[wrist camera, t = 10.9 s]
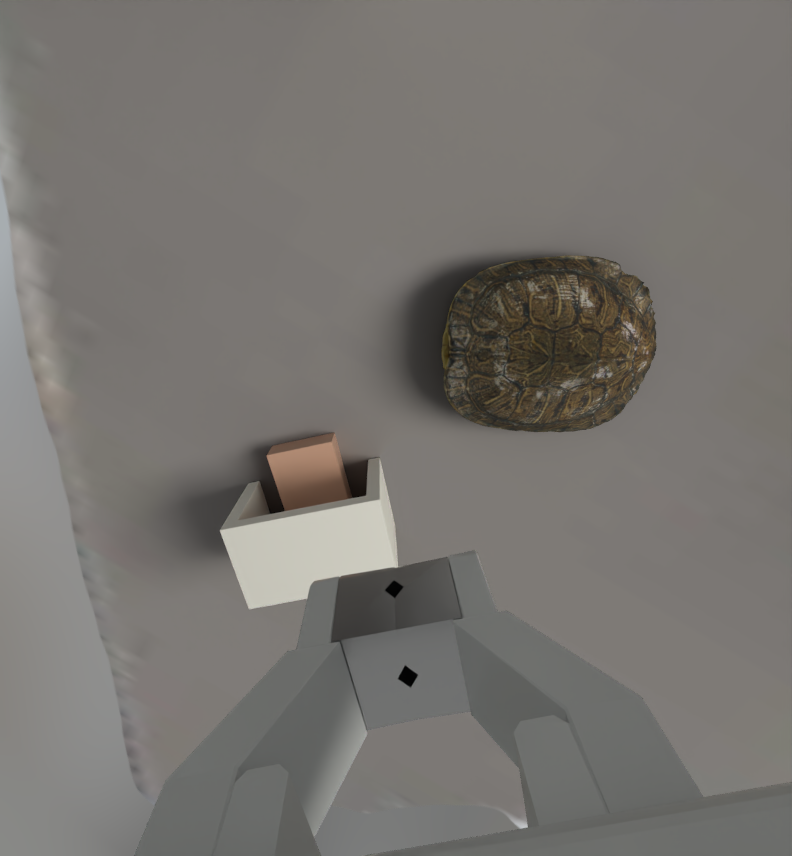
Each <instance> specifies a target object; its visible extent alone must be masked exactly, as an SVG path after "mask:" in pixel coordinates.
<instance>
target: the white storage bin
mask: <svg viewBox="0 0 792 856" xmlns="http://www.w3.org/2000/svg"><path fill="white" fill-rule="evenodd" d="M220 533H221V535H222V538H223V541H224V543H225V546H226V549H227V551H228V554H229V557H230V559H231V562H232V565H233V567H234V570H235V573H236V575H237V578H238V581H239V583H240V586H241V589H242V591H243V594H244V597H245V599H246V602H247V605H248V607H249V609H253V608H259V607H264V606H269V605H275V604H280V603H285V602H291V601H296V600H301V599H307V598H308V593H309V589H310V586H311V584H312V583H313V582H314V581H317V580H322V579H327V578H332V577H338V576H339V577H341V576H343V575H349V574H355V573H361V572H367V571H373V570H379V569H385V568H391V567H398V560H397V544H396V529H395V523H394V519H393V515H392V510H391V506H390V501H389V497H388V493H387V488H386V484H385V479H384V475H383V470H382V466H381V462H380V457H379V458H374V459H369V460H368V473H367V491H366V496H361V497H356V498H351V499H346V500H341V501H335V502H330V503H325V504H320V505H315V506H310V507H304V508H299V509H294V510H289V511H284V512H279V513H273V514H270V511H269V508H268V505H267V502H266V499H265V496H264V493H263V490H262V487H261V484H260V481H257V482H251V483H248V485H247V486H246V488H245V490H244V491H243V493H242V494H241V496H240V498H239V499H238V501H237V503H236V504H235V506H234V508H233V509H232V511H231V513H230V514H229V516H228V517H227V519H226V521H225V522H224V524H223V526H222V527H221V529H220Z"/></svg>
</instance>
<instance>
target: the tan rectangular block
mask: <svg viewBox="0 0 792 856" xmlns="http://www.w3.org/2000/svg"><path fill="white" fill-rule="evenodd" d="M266 456H267V459H268V462H269V465H270V468H271V471H272V474H273V477H274V480H275V483H276V486H277V489H278V492H279V495H280V498H281V501H282V504H283V507H284V510H285V511H289V510H294V509H299V508H304V507H310V506H315V505H320V504H325V503H330V502H335V501H341V500H346V499H351V498H352V495H351V491H350V487H349V484H348V480H347V476H346V473H345V469H344V465H343V462H342V458H341V454H340V451H339V447H338V444H337V440H336V436H335V433H330V434H325V435H320V436H316V437H311V438H306V439H302V440H297V441H292V442H288V443H283V444H278V445H274V446H272V447H271V449H270V451H269V452H268V454H267V455H266Z"/></svg>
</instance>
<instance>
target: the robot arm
mask: <svg viewBox="0 0 792 856" xmlns="http://www.w3.org/2000/svg"><path fill="white" fill-rule="evenodd" d="M465 712H471V715H472V716H473V717H474V718H475V719H476V720H477V721H478V723H479V724H480V725H481V726H482V727H483V728H484V729H485V730H486V732H487V733H488V734H489V735H490V736H491V737H492V738H493V740H494V741H495V742H496V743H497V744H498V745H499V746H500V748H501V749H502V750H503V751H504V752H505V753H506V754H507V756H508V757H509V758H510V759H511V760H512V761H513V762H514V764H515V765H516V766H517V767H518V768H519V771H520V778H521V784H522V791H523V798H524V804H525V811H526V817H527V824H528V828H523V829H517V830H511V831H506V832H500V833H494V834H488V835H482V836H476V837H470V838H464V839H459V840H453V841H447V842H441V843H435V844H429V845H423V846H417V847H412V848H406V849H401V850H394V851H389V852H383V853H376V854H370V855H365V856H792V782H789V783H783V784H777V785H771V786H766V787H760V788H754V789H748V790H742V791H736V792H730V793H725V794H719V795H713V796H707V797H703V795H702V794H701V792H700V790H699V789H698V787H697V785H696V784H695V782H694V781H693V779H692V777H691V776H690V774H689V773H688V771H687V769H686V768H685V766H684V764H683V763H682V761H681V760H680V758H679V756H678V755H677V753H676V751H675V750H674V748H673V747H672V745H671V743H670V742H669V740H668V738H667V737H666V735H665V734H664V732H663V730H662V729H661V727H660V725H659V724H658V722H657V721H656V719H655V717H654V716H653V714H652V713H651V711H650V709H649V708H648V706H647V704H646V703H645V701H644V700H643V698H642V697H641V696H640V695H638V694H636V693H635V692H633V691H632V690H630V689H629V688H627V687H625V686H624V685H622V684H621V683H619V682H618V681H616V680H615V679H613V678H611V677H610V676H608V675H607V674H605V673H604V672H602V671H601V670H599V669H597V668H596V667H594V666H593V665H591V664H590V663H588V662H586V661H585V660H583V659H582V658H580V657H579V656H577V655H576V654H574V653H572V652H571V651H569V650H568V649H566V648H565V647H563V646H561V645H560V644H558V643H557V642H555V641H554V640H552V639H551V638H549V637H547V636H546V635H544V634H543V633H541V632H540V631H538V630H537V629H535V628H533V627H532V626H530V625H529V624H527V623H526V622H524V621H522V620H521V619H519V618H518V617H516V616H515V615H513V614H512V613H510V612H508V611H501V612H498V610H497V608H496V605H495V602H494V599H493V596H492V593H491V590H490V588H489V585H488V582H487V579H486V576H485V573H484V571H483V568H482V565H481V562H480V559H479V556H478V554H477V552H476V551H475V550H472V551H468V552H464V553H459V554H455V555H450V556H448V557H444V558H439V559H434V560H429V561H424V562H420V563H415V564H410V565H405V566H400V567H391V568H385V569H379V570H373V571H367V572H361V573H355V574H349V575H343V576H341V577H339V576H338V577H332V578H327V579H322V580H317V581H314V582H313V583H312V584H311V586H310V589H309V593H308V598H307V602H306V607H305V611H304V616H303V620H302V625H301V629H300V634H299V639H298V643H297V648H296V650H291V651H287V652H286V653H285V654H284V656H283V657H282V658H281V659H280V660H279V661H278V662H277V663H276V664H275V665H274V666H273V667H272V668H271V669H270V670H269V671H268V673H267V674H266V675H265V676H264V677H263V678H262V679H261V680H260V681H259V682H258V683H257V684H256V685H255V686H254V687H253V688H252V689H251V691H250V692H249V693H248V694H247V695H246V696H245V697H244V698H243V699H242V700H241V701H240V702H239V703H238V704H237V705H236V706H235V708H234V709H233V710H232V711H231V712H230V713H229V714H228V715H227V716H226V717H225V718H224V719H223V720H222V721H221V722H220V723H219V725H218V726H217V727H216V728H215V729H214V730H213V731H212V732H211V733H210V734H209V735H208V736H207V737H206V738H205V739H204V740H203V741H202V743H201V744H200V745H199V746H198V747H197V748H196V749H195V750H194V751H193V752H192V753H191V754H190V755H189V756H188V757H187V758H186V760H185V761H184V762H183V763H182V764H181V765H180V766H179V767H178V768H177V769H176V770H175V771H174V772H173V773H172V774H171V775H170V776H169V778H168V779H167V780H166V781H165V783H164V785H163V788H162V790H161V792H160V795H159V797H158V800H157V802H156V804H155V807H154V809H153V812H152V814H151V816H150V819H149V821H148V823H147V826H146V828H145V831H144V833H143V835H142V838H141V840H140V842H139V845H138V847H137V849H136V852H135V854H134V856H321V854H320V852H319V849H318V846H317V844H316V841H315V839H314V837H315V835H316V833H317V831H318V829H319V827H320V825H321V823H322V821H323V819H324V817H325V816H326V814H327V812H328V810H329V808H330V806H331V804H332V802H333V800H334V798H335V796H336V794H337V792H338V790H339V788H340V786H341V784H342V782H343V780H344V778H345V777H346V775H347V773H348V771H349V769H350V767H351V765H352V763H353V761H354V759H355V757H356V755H357V753H358V751H359V749H360V747H361V745H362V743H363V741H364V739H365V737H366V736H367V731H366V730H371V729H375V728H380V727H385V726H390V725H394V724H399V723H404V722H408V721H413V720H418V718H419V719H425V718H431V717H438V716H445V715H451V714H458V713H465Z"/></svg>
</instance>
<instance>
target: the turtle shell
mask: <svg viewBox="0 0 792 856" xmlns="http://www.w3.org/2000/svg"><path fill="white" fill-rule="evenodd" d="M643 283H644V282H642V281H640V280H639V279H638V277H636V276H634V275H628V274H625V273H624V272H623V271H621V267H620V265H619V264H618V263H616V262H613V261H610V260H606V259H603V258H598V257H589V256H558V257H550V258H536V259H528V260H521V261H514V262H508V263H503V264H500V265H496V266H493V267H490V268H488V269H485V270H483V271H481V272H479V273H478V274H477V276H476V277H474V278H472V279H470V280H468V281H467V282H466V283H465V284H464V285H463V286H462V287H461V288H460V290H459V291H458V292H457V294H456V295H455V297H454V299H453V301H452V304H451V306H450V309H449V313H448V318H447V324H446V329H445V331H444V334H443V346H442V350H441V352H442V361H443V368H444V369H445V372H444V390H445V394H446V397H447V399H448V401H449V403H450V405H451V406H452V407H453V408H454V409H455V410H456V411H457V412H458V413H459V414H461V415H462V416H463V417H465V418H467V419H468V420H470V421H472V422H475V423H478V424H481V425H484V426H488V427H494V428H501V429H507V430H514V431H519V430H523V431H531V432H548V431H554V432H564V431H577V430H586V429H591V428H593V427H596V426H598V425H601V424H602V423H604V422H608V421H610V420H611V419H613V418H614V417H616V416H617V415H618V414H619V413H620V412H621V411H622V410H623V409H624V407H625V405H626V404H627V403H628V401H629V400H631V399H632V397H633V395H634V394H636V393H637V391H638V389H639V386H640V384H641V382H642V381H643V380H644V377H645V374H646V373H647V371H648V370H649V368H650V365H651V362H652V360H653V358H654V356H655V351H656V331H655V324H656V322H655V320H654V314H655V313H654V312H653V309H652V308H651V305H652V302H653V301H652V300H651V299H650V296H649V289H648V287H646V286H644V285H643Z"/></svg>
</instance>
